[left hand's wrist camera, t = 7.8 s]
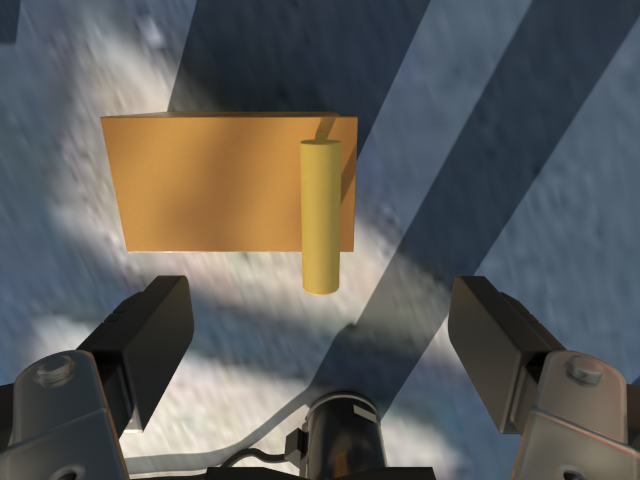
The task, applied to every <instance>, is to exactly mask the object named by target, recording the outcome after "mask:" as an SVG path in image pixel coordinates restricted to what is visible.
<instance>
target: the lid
mask: <svg viewBox="0 0 640 480" xmlns="http://www.w3.org/2000/svg"><path fill="white" fill-rule="evenodd" d="M100 119H101V124H102V129H103V134H104V139H105V144H106V149H107V154H108V159H109V164H110V169H111V174H112V179H113V184H114V189H115V194H116V199H117V204H118V209H119V214H120V219H121V224H122V228H123V233H124V238H125V243H126V248H127V252H302V271H303V288H304V290H305V291H306V292H308V293H310V294H314V295H328V294H332V293H334V292H336V291H337V290H338V288H339V261H340V252H353V246H354V217H355V188H356V159H357V131H358V117H356V116H107V117H100Z"/></svg>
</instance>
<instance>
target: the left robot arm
mask: <svg viewBox="0 0 640 480" xmlns="http://www.w3.org/2000/svg"><path fill="white" fill-rule="evenodd" d="M193 333H194V318H193V311H192V304H191V297H190V290H189V283H188V280H187V278H186V276H157V277H156V278H155V279H154V280H153V282H152V283H151V284H150V285H149V286H148V287H147V288H146V289H145V290H144V291H143V292H138V293H136V294H134V295H133V296H131V297H129V298H127V299H126V300H124V301H123V302H122V303H121V304H120V305H119V306H118V307H117V308H116V309H115V310H114V311H113V314H110V315H109V316H108V317H107V318H106V319H105V320H104V323H101V324H100V325H99V326H98V327H97V328H96V329H95V330H94V331H93V332H92V333H91V334H90V335H89V336H88V337H87V338H86V339H85V340H84V341H83V342H82V344H81V345H80V346H79V347H78V348H77V349H76V350H69V351H63V352H59V353H55V354H52V355H50V356H47V357H45V358H42V359H40V360H38V361H36V362H35V363H33V364H31V365H30V366H28V367H27V368H26V369H24V370H23V371H22V372H21V373H20V374H19V375H18V377H17V378H16V380H15V382H14V383H12V384H7V385H2V386H0V480H436V478H435V475H434V471H433V468H432V467H388V464H387V459H386V453H385V448H384V442H383V437H382V432H381V423H380V416H379V412H378V410H377V408H376V406H375V405H374V404H373V402H371V401H370V400H369V399H368V398H366V397H364V396H362V395H360V394H357V393H353V392H335V393H331V394H328V395H326V396H323V397H322V398H320V399H318V400H317V401H316V402H315V403H314V404H313V405H312V406H311V408H310V410H309V412H308V415H307V421H306V422H305V423H304V424H302V430H301V429H300V428H297V429H296V430H294V431H293V432H291V433H290V434H289V435H287V436H286V444H285V454H279V455H270V454H266V453H264V452H262V451H261V450H259V449H256V448H250V449H245V450H242V451H240V452H238V453H236V454H235V455H234V456H232V457H231V458H230V459H229V460H227V461H226V462H225V463H224V464H223V465H221V466H220V467H208V468H207V471H206V473H204V474H200V475H193V476H164V477H151V478H140V479H130V478H129V474H128V471H127V467H126V464H125V460H124V457H123V453H122V450H121V447H120V443H119V438H120V437H121V435H122V433H143V431H144V429H145V427H146V425H147V424H148V422H149V420H150V418H151V416H152V414H153V412H154V410H155V409H156V407H157V405H158V403H159V401H160V399H161V397H162V395H163V394H164V392H165V390H166V388H167V386H168V384H169V382H170V380H171V379H172V377H173V375H174V373H175V371H176V369H177V367H178V365H179V364H180V362H181V360H182V358H183V356H184V354H185V352H186V350H187V349H188V347H189V345H190V343H191V341H192V338H193ZM448 334H449V338H450V341H451V344H452V346H453V347H454V349H455V351H456V353H457V355H458V357H459V359H460V360H461V362H462V364H463V366H464V368H465V370H466V371H467V373H468V375H469V377H470V379H471V381H472V383H473V384H474V386H475V388H476V390H477V392H478V394H479V396H480V397H481V399H482V401H483V403H484V405H485V407H486V409H487V410H488V412H489V414H490V416H491V418H492V420H493V422H494V423H495V425H496V427H497V429H498V431H499V433H500V434H520V435H521V436H522V440H521V443H520V447H519V450H518V453H517V457H516V460H515V464H514V467H513V471H512V474H511V478H510V480H640V386H635V385H630V384H626V382H625V380H624V378H623V377H622V375H621V374H620V373H619V372H618V371H617V370H616V369H614V368H613V367H612V366H610V365H609V364H607V363H605V362H604V361H602V360H600V359H598V358H595V357H593V356H590V355H588V354H585V353H581V352H577V351H571V350H567V349H566V348H565V347H564V346H563V345H562V344H561V343H560V342H559V341H558V340H557V339H556V338H555V337H554V336H553V335H552V334H551V333H550V332H549V331H548V330H547V329H546V328H545V327H544V326H543V325H542V324H541V323H539V322H538V320H537V319H536V318H535V317H534V316H533V315H532V314H530V312H529V311H528V310H527V309H526V308H525V307H524V306H523V305H522V304H521V303H520V302H519V301H517V300H516V299H514V298H512V297H510V296H509V295H507V294H505V293H503V292H499V291H498V290H497V289H496V288H495V287H494V286H493V285H492V284H491V283H490V282H489V281H488V280H487V279H486V278H485V277H484V276H457V277H456V278H455V280H454V284H453V290H452V297H451V304H450V311H449V318H448ZM250 456H254V457H256V458H258V459H259V460H261V461H263V462H266V463H282V462H288V461H289V462H291V463H292V464H293V465H295V466H296V467H297V468H299V469H300V471H299V476H296V475H292V474H288V473H284V472H280V471H276V470H272V469H269V468H265V467H232V466H233V465H234V464H235V463H237V462H238V461H239V460H241V459H243V458H245V457H250Z"/></svg>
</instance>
